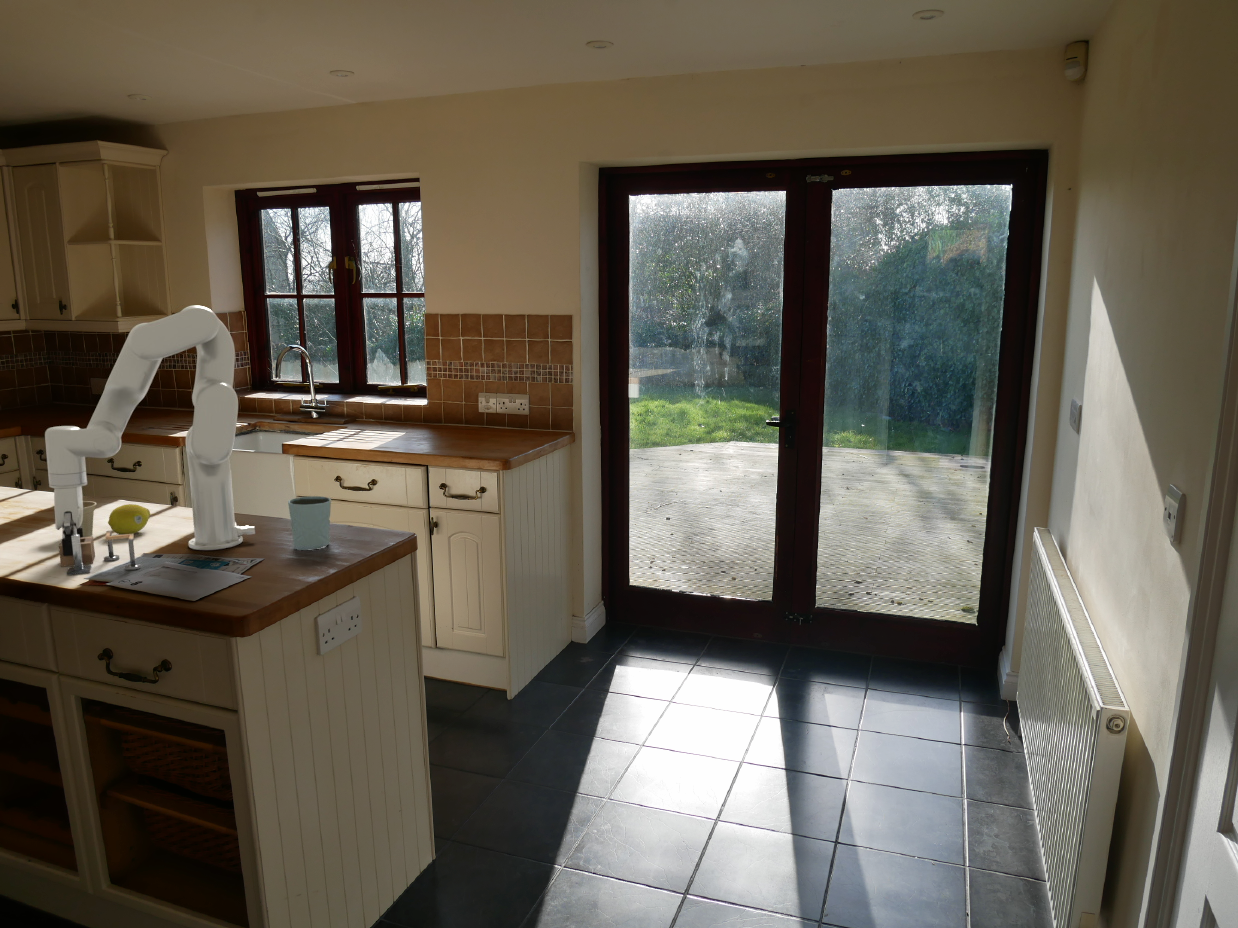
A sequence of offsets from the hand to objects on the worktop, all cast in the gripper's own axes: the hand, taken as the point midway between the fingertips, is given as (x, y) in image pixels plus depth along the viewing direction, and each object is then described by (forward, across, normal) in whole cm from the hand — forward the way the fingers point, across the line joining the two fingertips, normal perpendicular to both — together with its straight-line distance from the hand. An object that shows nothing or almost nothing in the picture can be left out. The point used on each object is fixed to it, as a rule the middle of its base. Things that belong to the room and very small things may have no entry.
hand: (73, 549), depth 207 cm
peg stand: (+3, +9, +2) cm, 10 cm away
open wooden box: (+3, 0, +1) cm, 3 cm away
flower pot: (+3, -25, -1) cm, 25 cm away
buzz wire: (+3, +6, +10) cm, 12 cm away
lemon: (+3, -23, +11) cm, 25 cm away
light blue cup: (+2, +9, +53) cm, 54 cm away
